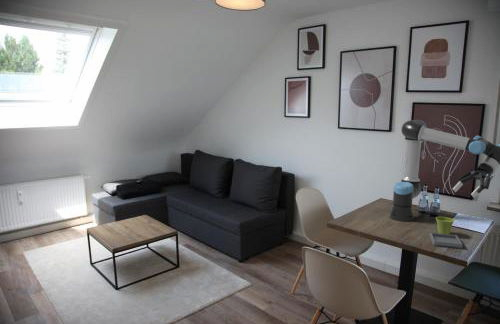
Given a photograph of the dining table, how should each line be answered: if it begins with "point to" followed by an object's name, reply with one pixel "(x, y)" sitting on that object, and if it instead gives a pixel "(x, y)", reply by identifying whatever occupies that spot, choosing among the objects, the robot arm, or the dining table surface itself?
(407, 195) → the robot arm
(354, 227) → the dining table surface
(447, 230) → the plant pot
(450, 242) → the tray
